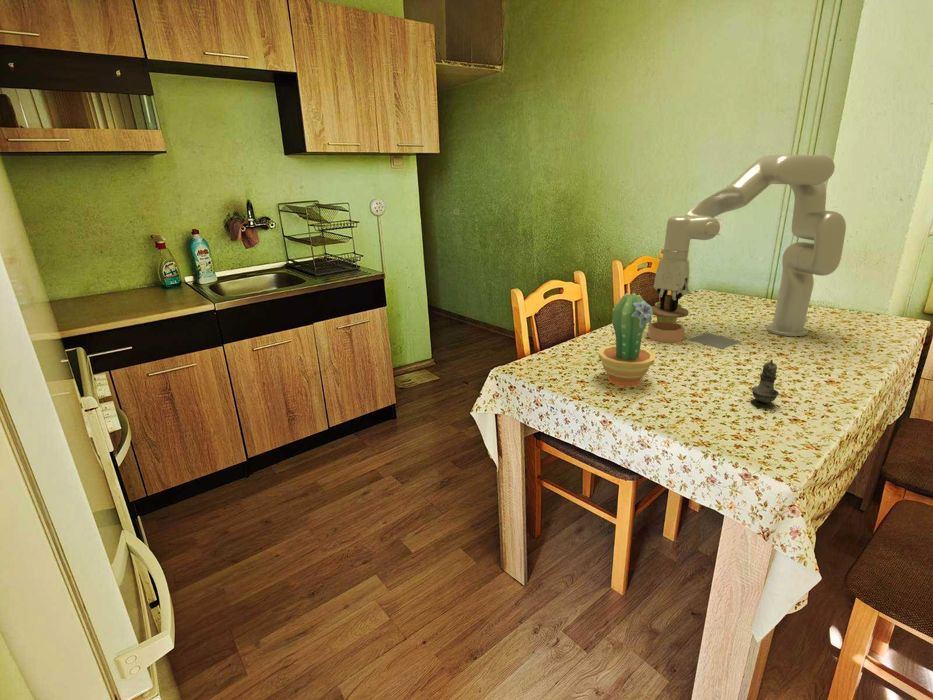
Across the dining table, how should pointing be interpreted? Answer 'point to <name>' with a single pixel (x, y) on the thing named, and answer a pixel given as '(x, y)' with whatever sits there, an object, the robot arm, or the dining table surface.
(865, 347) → the dining table surface
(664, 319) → the plant pot
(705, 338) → the mat
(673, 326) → the bowl
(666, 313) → the lid
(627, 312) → the potted cactus
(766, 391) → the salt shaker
